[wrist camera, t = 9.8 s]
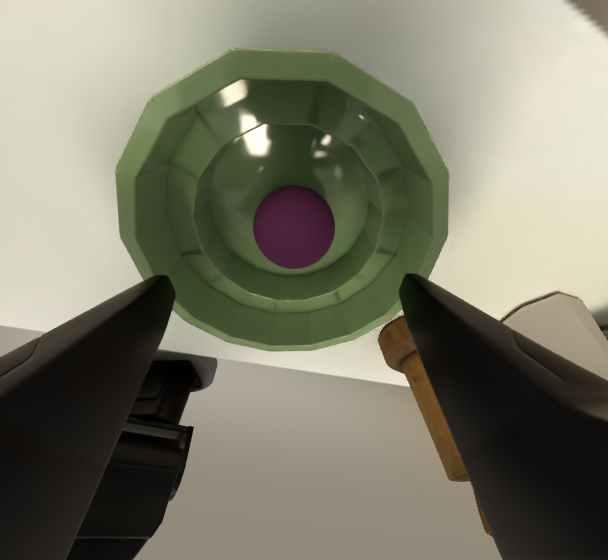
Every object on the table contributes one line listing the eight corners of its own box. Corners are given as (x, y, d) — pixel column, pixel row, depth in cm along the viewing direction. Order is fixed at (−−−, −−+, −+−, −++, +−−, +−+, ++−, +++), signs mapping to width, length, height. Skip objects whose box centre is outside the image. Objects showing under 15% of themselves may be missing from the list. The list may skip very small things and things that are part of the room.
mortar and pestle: (439, 347, 25) (630, 673, 11) (379, 357, 26) (484, 672, 12) (448, 306, 21) (775, 744, 7) (376, 319, 21) (533, 735, 7)
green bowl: (370, 287, 19) (396, 349, 14) (211, 289, 18) (183, 353, 14) (427, 75, 11) (531, 56, 6) (141, 67, 10) (11, 39, 5)
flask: (512, 349, 26) (609, 459, 18) (481, 326, 23) (580, 444, 15) (590, 313, 22) (753, 430, 14) (564, 280, 19) (751, 403, 11)
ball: (321, 242, 16) (340, 281, 12) (257, 246, 15) (258, 289, 12) (326, 174, 13) (352, 200, 10) (248, 176, 12) (246, 204, 9)
